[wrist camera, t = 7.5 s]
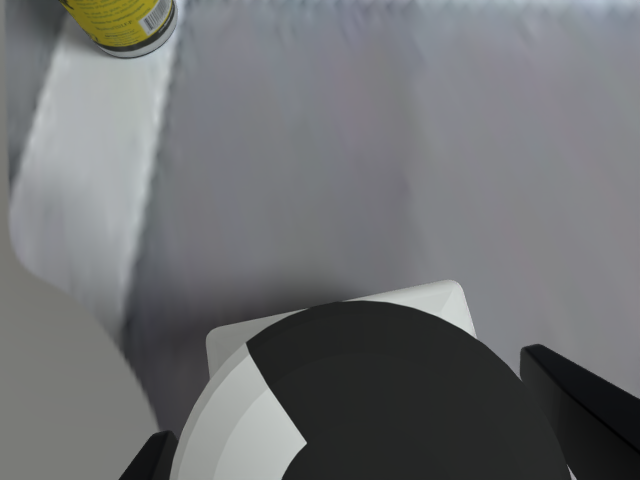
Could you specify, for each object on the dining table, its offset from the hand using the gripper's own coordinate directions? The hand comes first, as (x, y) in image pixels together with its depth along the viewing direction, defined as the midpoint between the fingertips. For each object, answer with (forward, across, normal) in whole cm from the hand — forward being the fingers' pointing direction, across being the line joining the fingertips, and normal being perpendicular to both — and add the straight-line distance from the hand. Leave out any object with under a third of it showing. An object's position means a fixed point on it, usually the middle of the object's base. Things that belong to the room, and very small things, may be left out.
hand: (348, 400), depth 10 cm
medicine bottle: (+5, 0, +7) cm, 8 cm away
